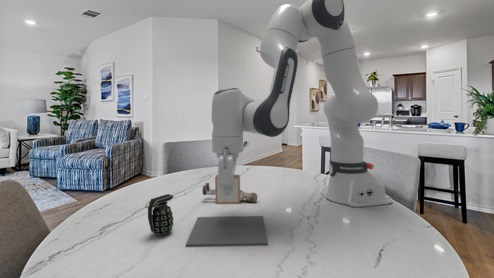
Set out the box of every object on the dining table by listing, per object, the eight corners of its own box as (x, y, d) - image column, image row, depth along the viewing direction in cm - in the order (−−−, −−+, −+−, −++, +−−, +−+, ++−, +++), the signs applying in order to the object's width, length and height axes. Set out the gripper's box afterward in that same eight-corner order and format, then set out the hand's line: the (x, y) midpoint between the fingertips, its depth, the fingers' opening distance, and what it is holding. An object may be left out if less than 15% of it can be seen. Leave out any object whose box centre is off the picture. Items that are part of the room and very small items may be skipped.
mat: (262, 217, 77) (262, 215, 77) (267, 245, 61) (267, 242, 61) (197, 218, 77) (197, 217, 77) (185, 246, 61) (185, 244, 61)
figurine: (207, 180, 96) (258, 187, 93) (205, 195, 97) (257, 202, 94) (202, 185, 90) (257, 193, 87) (200, 201, 91) (255, 208, 88)
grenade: (166, 226, 72) (165, 192, 71) (178, 232, 69) (177, 196, 68) (145, 235, 67) (143, 199, 66) (157, 241, 64) (154, 203, 63)
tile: (240, 201, 75) (239, 174, 74) (239, 204, 72) (239, 177, 71) (216, 201, 75) (216, 174, 74) (215, 204, 72) (215, 177, 71)
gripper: (237, 151, 61) (238, 205, 63) (239, 141, 82) (239, 182, 83) (211, 151, 61) (212, 205, 63) (220, 141, 82) (220, 182, 83)
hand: (228, 192), depth 73 cm, fingers closed on tile, 3 cm apart
